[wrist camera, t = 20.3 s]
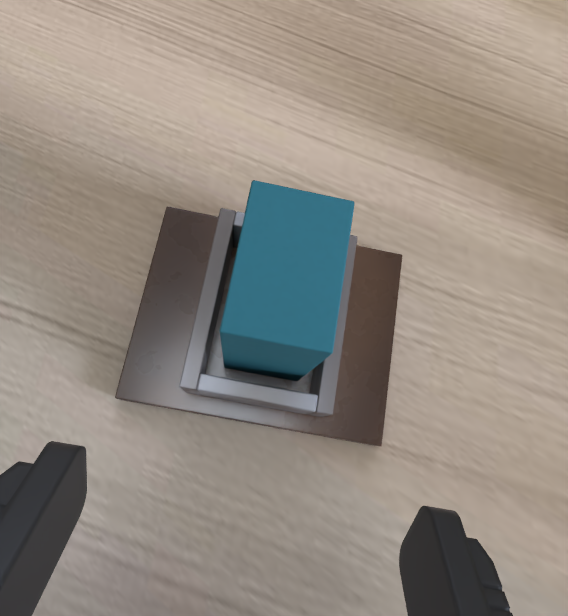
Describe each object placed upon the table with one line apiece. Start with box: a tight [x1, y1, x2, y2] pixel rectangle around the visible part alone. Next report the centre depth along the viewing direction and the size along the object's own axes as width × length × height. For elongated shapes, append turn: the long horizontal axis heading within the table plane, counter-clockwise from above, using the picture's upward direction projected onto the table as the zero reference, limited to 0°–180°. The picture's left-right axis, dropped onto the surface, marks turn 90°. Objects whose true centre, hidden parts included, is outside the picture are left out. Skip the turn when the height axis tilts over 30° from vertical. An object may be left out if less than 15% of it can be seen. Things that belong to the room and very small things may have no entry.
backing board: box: [115, 207, 402, 446], centre depth 24 cm, size 14×11×4 cm
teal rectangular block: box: [220, 180, 354, 381], centre depth 21 cm, size 4×6×9 cm, turn 170°
